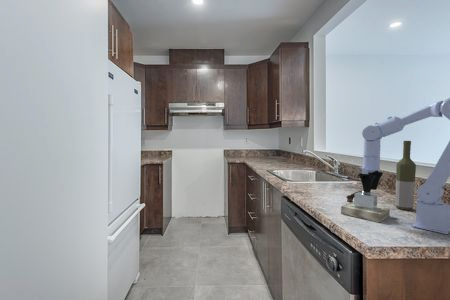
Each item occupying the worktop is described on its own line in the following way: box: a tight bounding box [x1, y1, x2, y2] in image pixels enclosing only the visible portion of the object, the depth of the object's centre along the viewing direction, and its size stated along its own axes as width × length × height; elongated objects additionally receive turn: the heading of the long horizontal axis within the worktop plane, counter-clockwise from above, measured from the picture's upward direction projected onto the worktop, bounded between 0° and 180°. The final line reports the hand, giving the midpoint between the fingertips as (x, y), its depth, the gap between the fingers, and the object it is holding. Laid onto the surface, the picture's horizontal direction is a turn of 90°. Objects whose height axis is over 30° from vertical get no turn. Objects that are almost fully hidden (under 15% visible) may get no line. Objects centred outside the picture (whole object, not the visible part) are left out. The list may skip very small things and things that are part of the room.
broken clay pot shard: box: [346, 190, 363, 203], centre depth 116 cm, size 12×10×8 cm
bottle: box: [395, 140, 417, 211], centre depth 113 cm, size 7×7×30 cm
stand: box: [340, 201, 391, 223], centre depth 103 cm, size 14×12×3 cm
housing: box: [353, 190, 378, 209], centre depth 102 cm, size 7×4×6 cm, turn 44°
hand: (370, 190), depth 102 cm, fingers open, 7 cm apart
